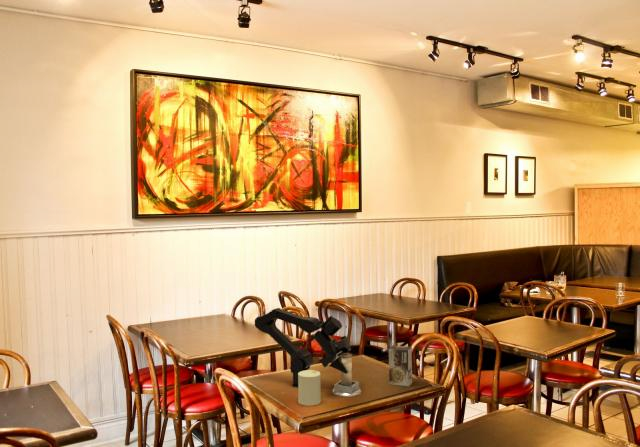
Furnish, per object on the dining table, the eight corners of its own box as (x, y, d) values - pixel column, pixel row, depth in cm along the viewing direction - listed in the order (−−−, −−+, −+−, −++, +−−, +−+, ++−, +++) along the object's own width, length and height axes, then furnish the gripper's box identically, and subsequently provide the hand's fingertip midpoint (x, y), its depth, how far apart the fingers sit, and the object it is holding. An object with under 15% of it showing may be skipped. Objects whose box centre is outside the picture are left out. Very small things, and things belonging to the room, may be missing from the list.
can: (325, 401, 221) (325, 371, 221) (310, 407, 214) (309, 377, 214) (308, 396, 227) (308, 367, 227) (293, 402, 220) (293, 372, 220)
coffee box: (412, 382, 244) (412, 346, 243) (408, 387, 238) (408, 350, 237) (392, 380, 247) (392, 344, 247) (388, 384, 242) (388, 348, 241)
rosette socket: (327, 394, 229) (327, 385, 229) (339, 385, 240) (339, 377, 240) (354, 398, 224) (354, 389, 224) (365, 389, 234) (365, 381, 234)
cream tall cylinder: (339, 388, 231) (339, 355, 230) (344, 385, 235) (344, 352, 234) (349, 389, 229) (349, 356, 228) (353, 386, 233) (353, 354, 232)
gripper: (328, 335, 224) (353, 365, 220) (347, 326, 241) (370, 354, 236) (311, 352, 228) (335, 382, 224) (331, 342, 245) (353, 370, 240)
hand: (349, 371), depth 231 cm, fingers closed on cream tall cylinder, 4 cm apart
